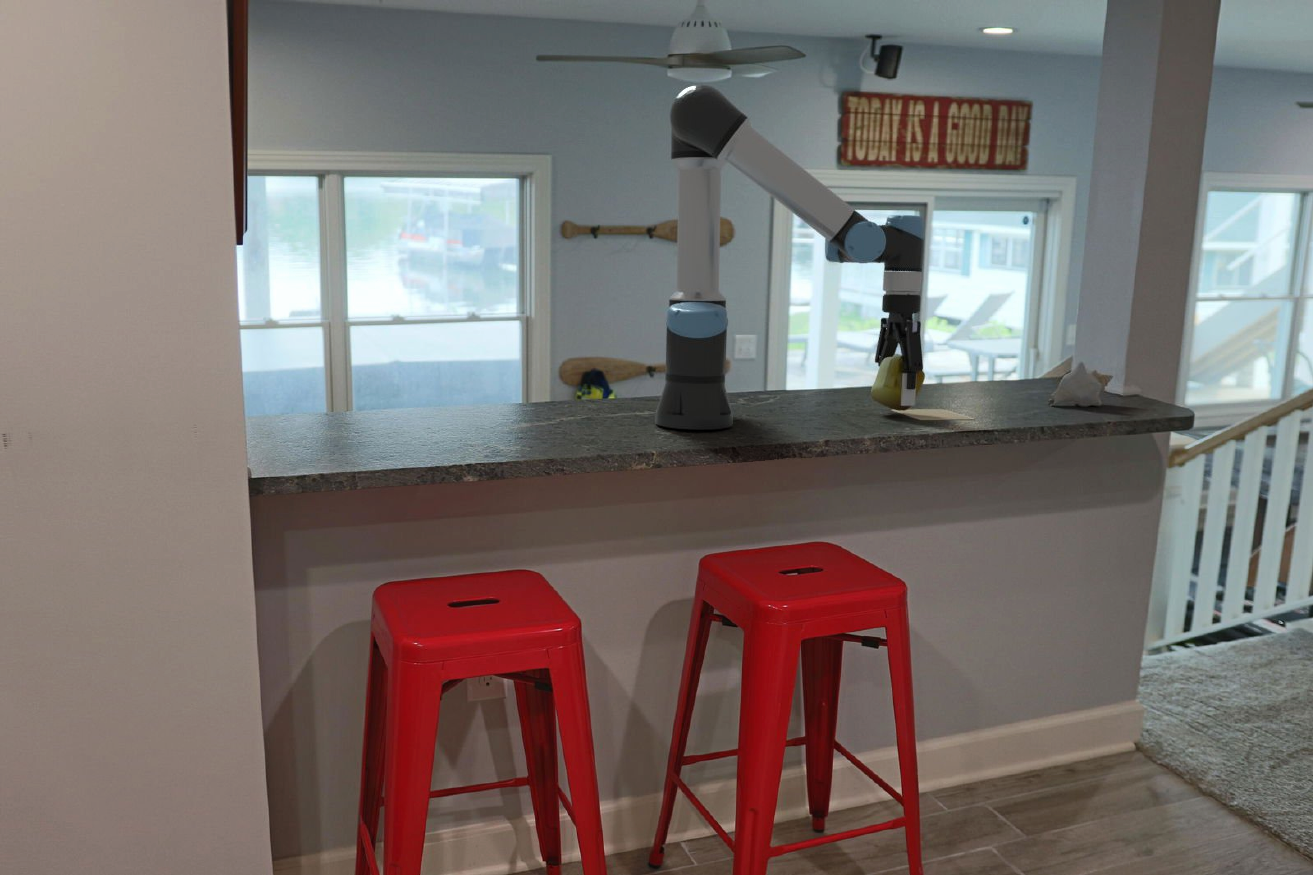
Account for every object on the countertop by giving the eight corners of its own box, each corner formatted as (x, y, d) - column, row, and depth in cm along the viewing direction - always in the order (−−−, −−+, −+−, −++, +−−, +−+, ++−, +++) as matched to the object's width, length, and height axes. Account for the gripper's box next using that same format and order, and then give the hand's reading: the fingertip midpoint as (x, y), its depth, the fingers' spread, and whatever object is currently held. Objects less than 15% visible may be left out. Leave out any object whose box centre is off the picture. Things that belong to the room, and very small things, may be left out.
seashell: (1062, 426, 253) (1101, 373, 253) (1092, 435, 243) (1132, 380, 243) (1031, 397, 248) (1070, 344, 249) (1060, 405, 239) (1100, 349, 239)
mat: (920, 420, 221) (920, 418, 221) (891, 410, 234) (891, 409, 234) (975, 419, 223) (975, 418, 223) (943, 410, 237) (943, 409, 237)
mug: (872, 403, 233) (898, 364, 233) (910, 423, 226) (937, 383, 227) (849, 380, 224) (876, 339, 224) (888, 400, 217) (916, 358, 217)
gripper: (945, 295, 213) (938, 409, 216) (895, 291, 235) (889, 394, 239) (909, 295, 211) (903, 409, 215) (862, 291, 234) (857, 395, 237)
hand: (896, 401), depth 227 cm, fingers closed on mug, 10 cm apart
